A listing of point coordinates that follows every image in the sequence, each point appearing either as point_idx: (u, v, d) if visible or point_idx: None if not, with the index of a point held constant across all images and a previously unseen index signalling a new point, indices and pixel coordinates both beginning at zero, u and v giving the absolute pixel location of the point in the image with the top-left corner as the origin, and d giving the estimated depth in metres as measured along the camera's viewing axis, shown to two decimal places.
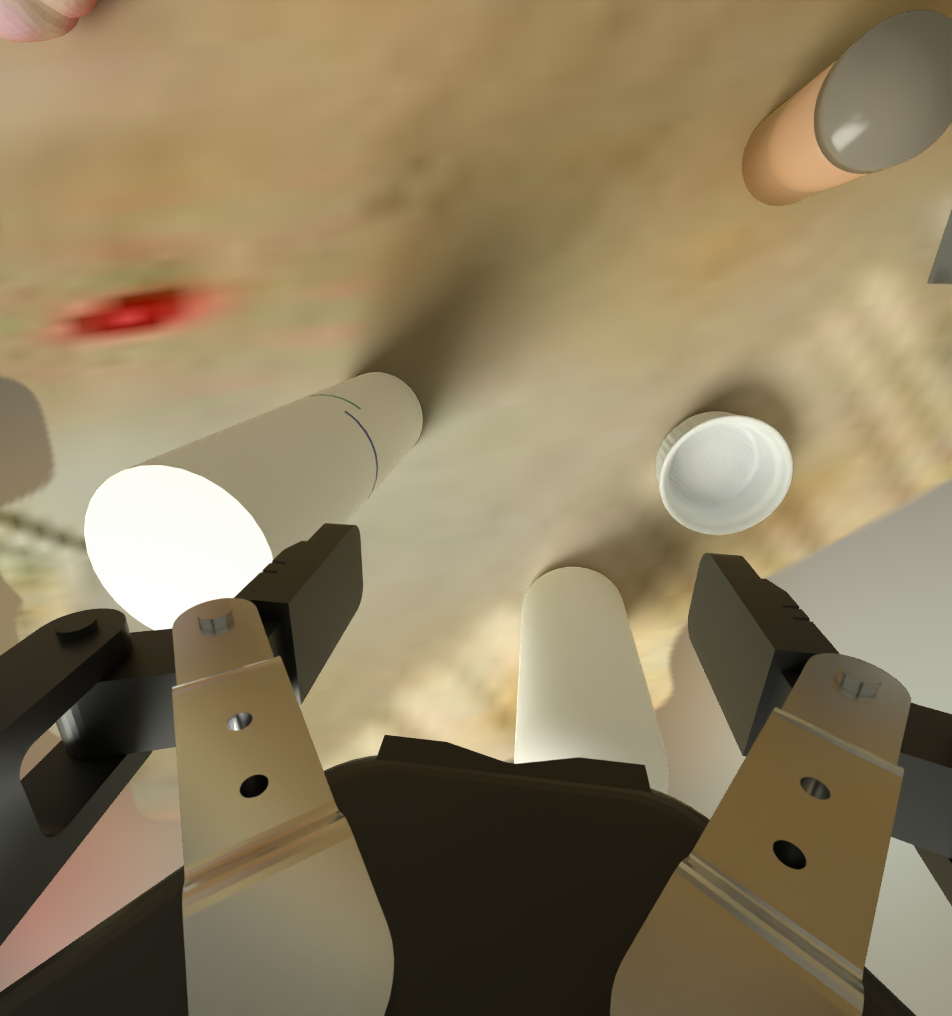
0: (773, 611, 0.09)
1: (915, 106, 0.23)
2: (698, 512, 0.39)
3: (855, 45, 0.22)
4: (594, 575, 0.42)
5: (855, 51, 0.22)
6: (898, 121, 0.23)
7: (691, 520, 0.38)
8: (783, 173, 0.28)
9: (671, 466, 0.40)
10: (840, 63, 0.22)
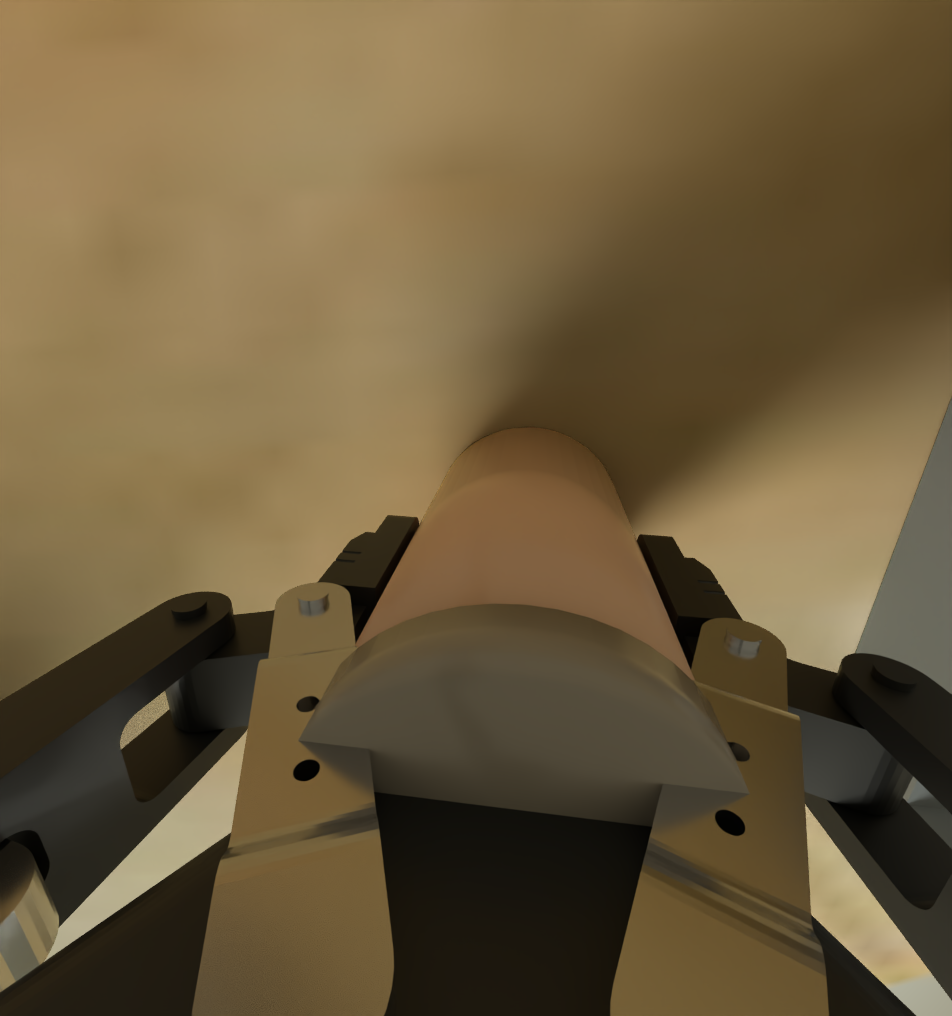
0: (686, 584, 0.10)
1: None
2: None
3: None
4: None
5: None
6: None
7: None
8: None
9: None
10: None
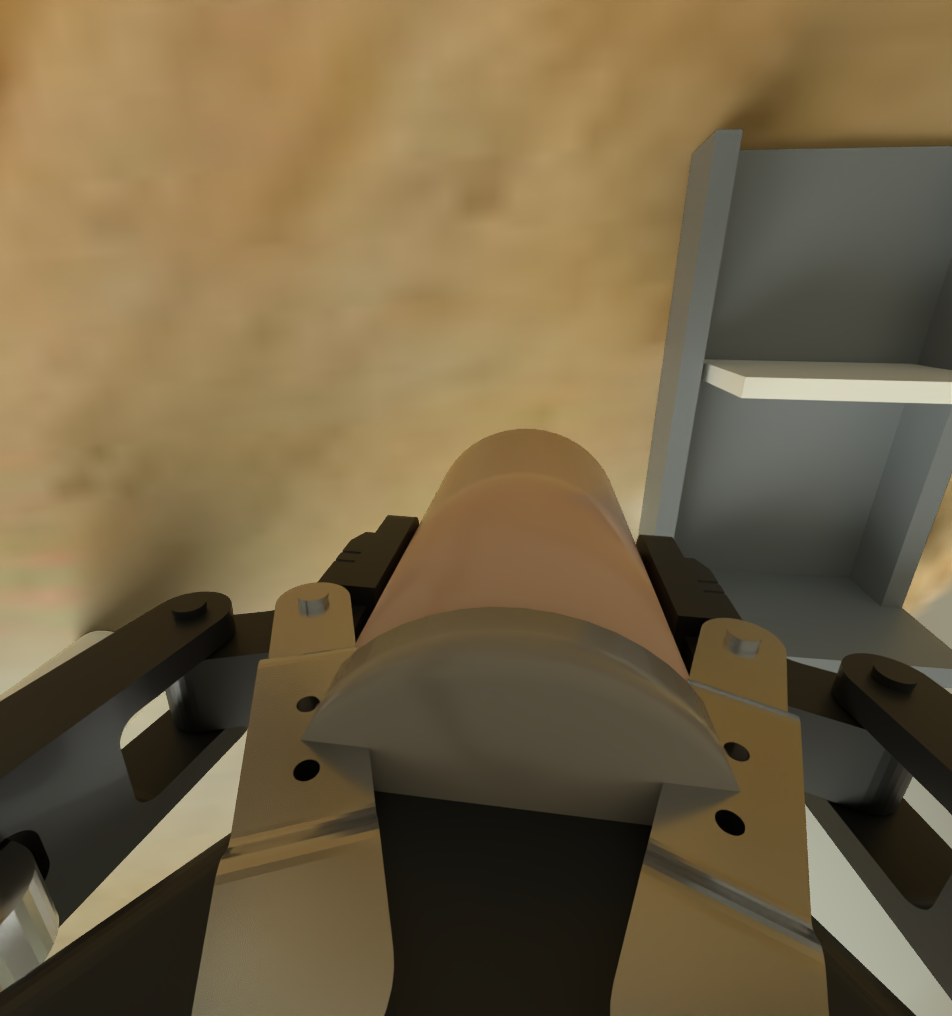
0: (686, 583, 0.10)
1: None
2: None
3: None
4: None
5: None
6: None
7: None
8: None
9: None
10: None
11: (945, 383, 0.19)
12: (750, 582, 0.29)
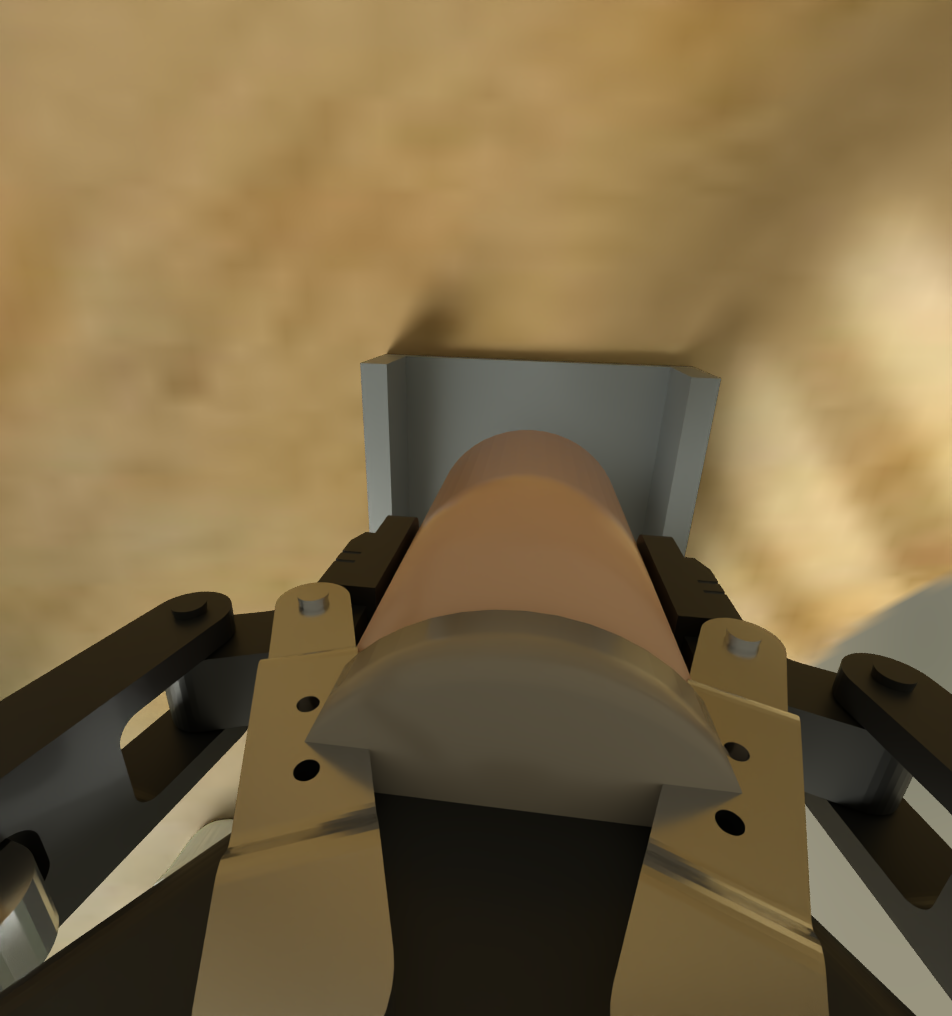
0: (686, 583, 0.10)
1: None
2: None
3: None
4: None
5: None
6: None
7: None
8: None
9: None
10: None
11: None
12: None
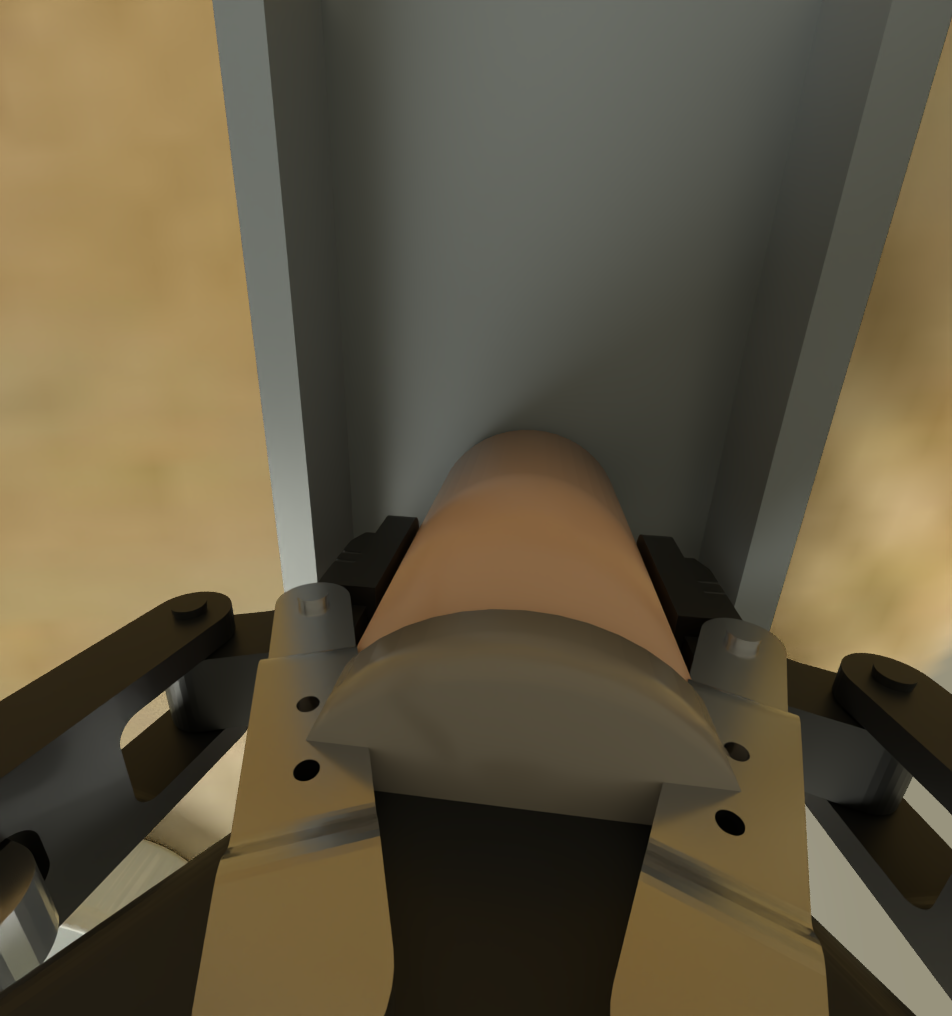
0: (686, 584, 0.10)
1: None
2: None
3: None
4: None
5: None
6: None
7: None
8: None
9: None
10: None
11: None
12: None
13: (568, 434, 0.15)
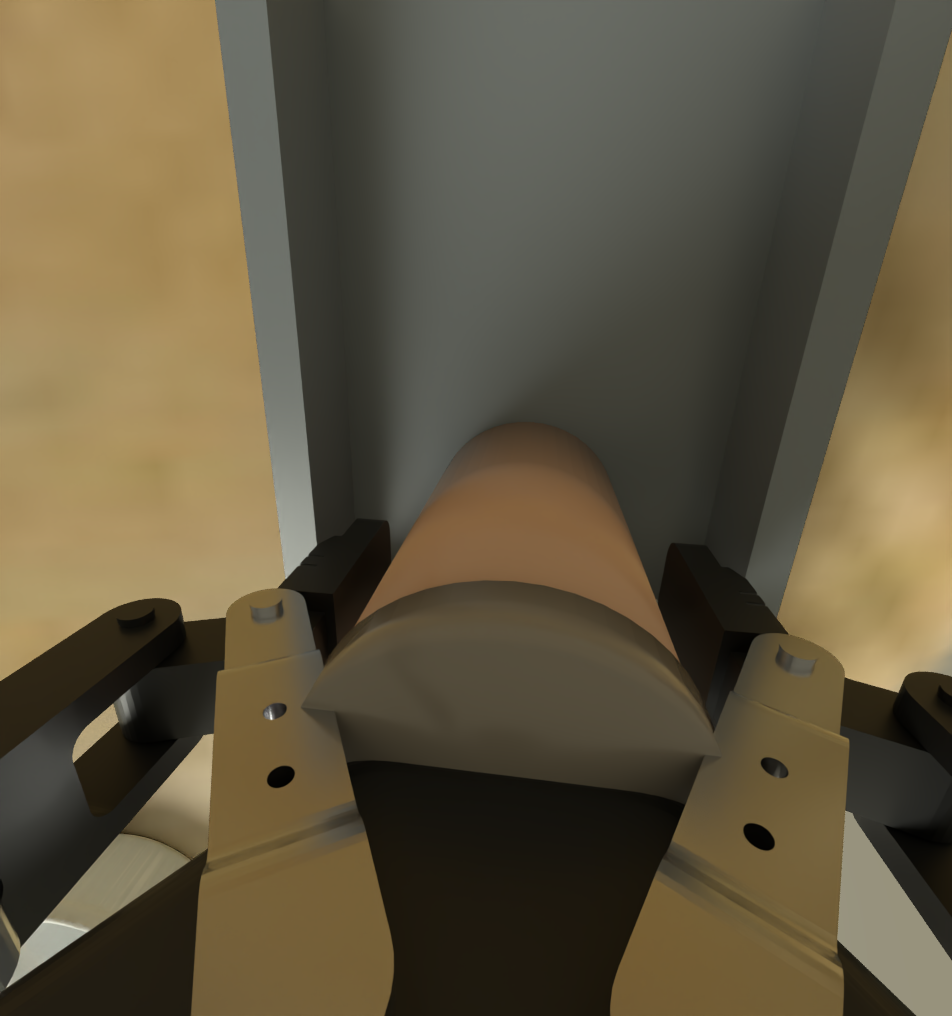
0: (728, 595, 0.09)
1: None
2: None
3: (306, 707, 0.06)
4: None
5: None
6: None
7: None
8: None
9: None
10: None
11: None
12: None
13: (571, 430, 0.15)
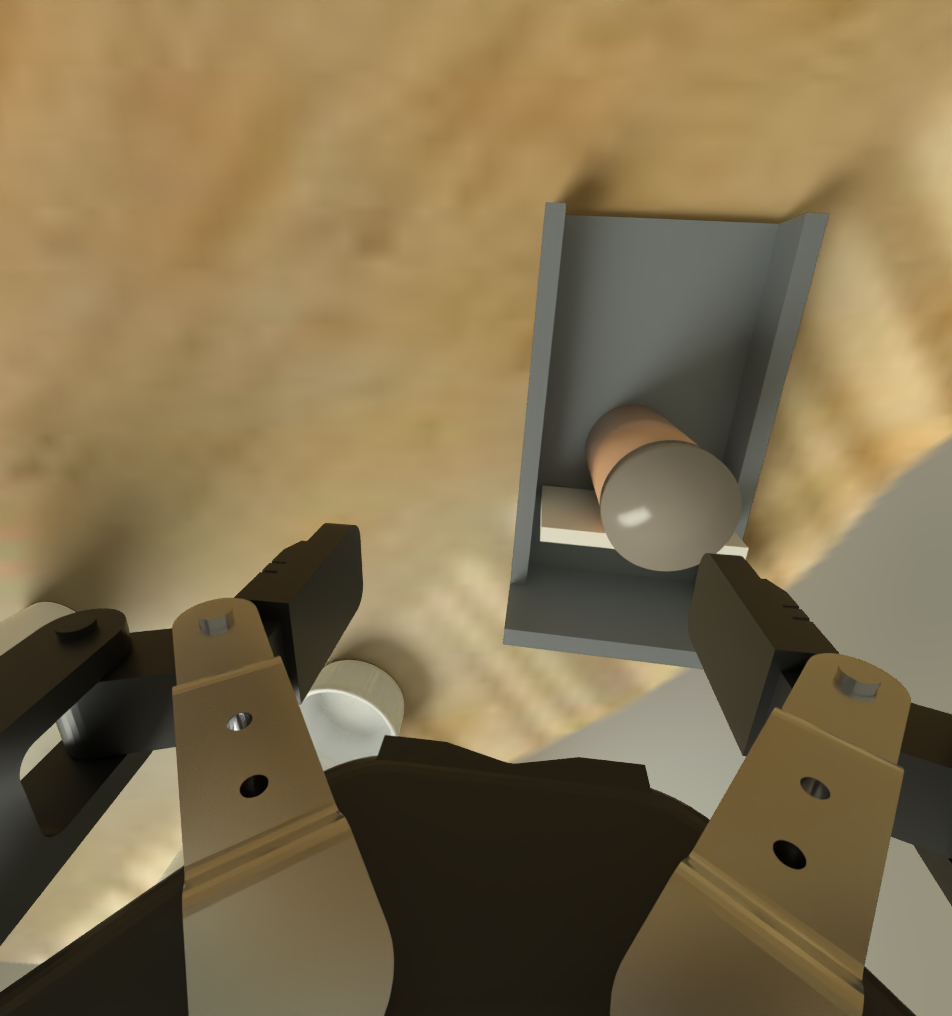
0: (773, 611, 0.09)
1: (690, 524, 0.22)
2: (341, 751, 0.41)
3: (623, 470, 0.21)
4: None
5: (624, 474, 0.21)
6: (675, 535, 0.22)
7: (324, 764, 0.40)
8: None
9: (322, 703, 0.41)
10: (611, 481, 0.22)
11: None
12: (605, 581, 0.33)
13: (657, 409, 0.30)
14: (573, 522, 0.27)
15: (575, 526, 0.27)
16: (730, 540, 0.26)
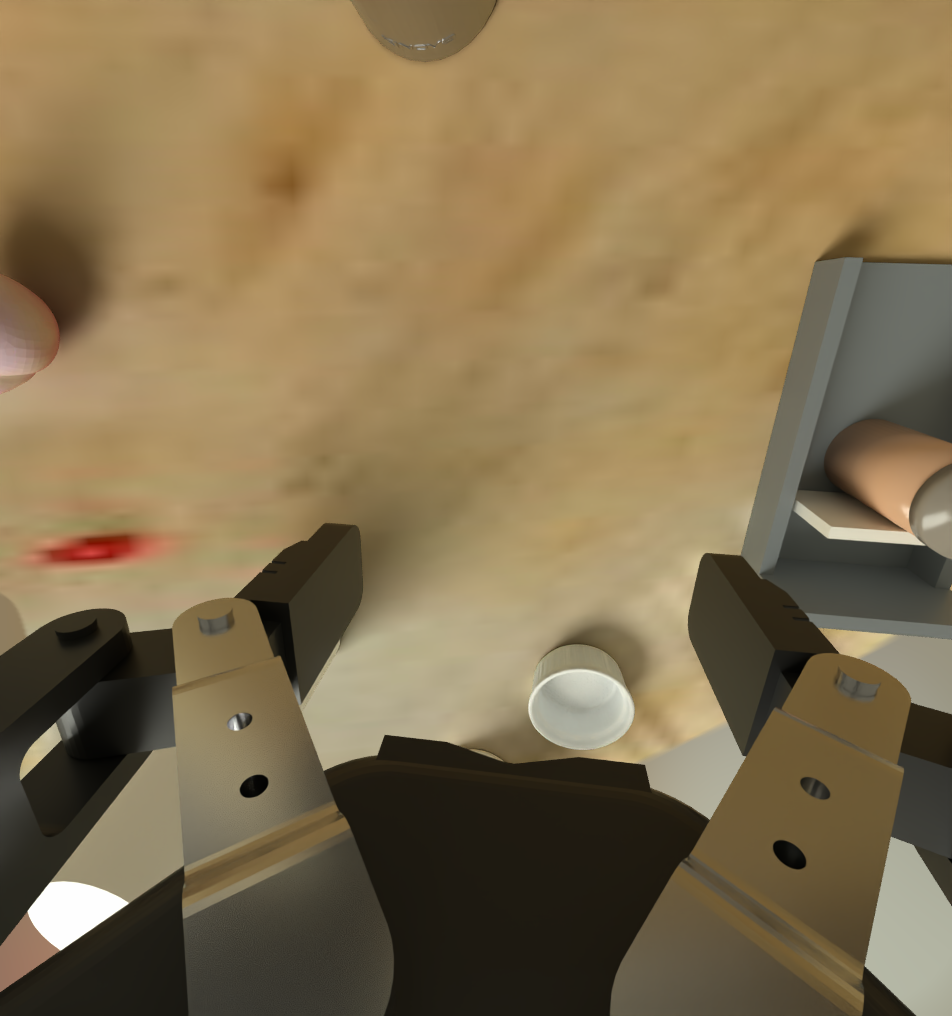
0: (773, 611, 0.09)
1: None
2: (567, 724, 0.47)
3: (950, 482, 0.27)
4: None
5: (950, 486, 0.27)
6: None
7: (558, 736, 0.45)
8: (870, 505, 0.33)
9: (546, 682, 0.47)
10: (936, 491, 0.27)
11: None
12: (834, 569, 0.39)
13: (894, 422, 0.36)
14: (850, 521, 0.32)
15: (856, 525, 0.32)
16: None
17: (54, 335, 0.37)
